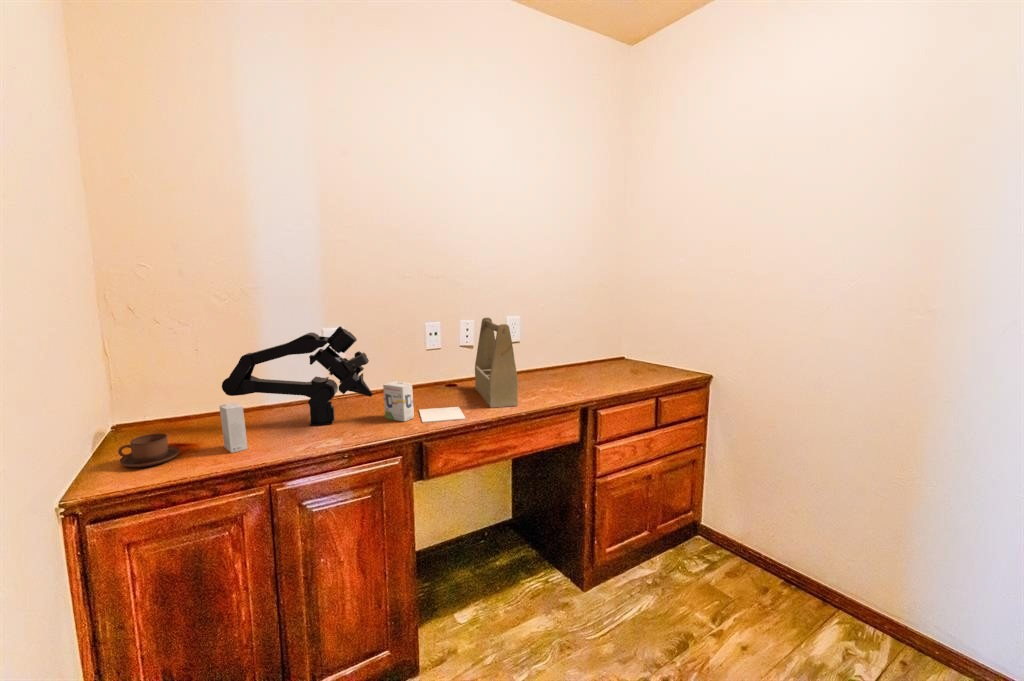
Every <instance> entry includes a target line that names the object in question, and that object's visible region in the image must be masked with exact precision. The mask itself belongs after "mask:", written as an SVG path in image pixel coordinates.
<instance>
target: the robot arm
mask: <svg viewBox="0 0 1024 681" xmlns="http://www.w3.org/2000/svg"><path fill="white" fill-rule="evenodd" d="M357 341H358V339H357V337H356V336H355V335H354V334H353V333H352V332H351V331H349V330H347V329H345V328H343V327H342V326H338V327H337V328H336V329H335V331H334V332H333V333H332V334H331V335H330V336H322V335H321V336H320V335H319V334H318V333H315V332H308V333H305V334H304V335H301V336H299V337H297V338H295V339H293V340H291V341H289V342H286V343H285V342H284V343H281V344H279V345H275V346H271V347H269V348H265V349H261V350H257V351H254V352H248V353H246V354H243V355H242V356H240V358H239V361H238V363H237V364H236V365H235V367H234V368H233V370H232V371H231V372H230V374H229V376H228V377H226V378H225V379H224V380H223V382H222V383H221V389H222V391H223V393H224V394H225V395H226V396H230V397H231V396H232V397H235V396H245V395H251V394H255V393H257V394H258V393H260V394H272V395H273V394H275V395H290V396H291V395H292V396H304V397H307V398H309V399H308V401H307V403H308V405H309V412H310V414H309V415H310V423H309V426H310V427H313V426H324V425H327V426H328V425H332V424H333V422H334V421H335V418H336V417H335V406H333V402H332V401H331V400H332V399H333V398H334V397H335V395H336V393H337V392H340V394H342V395H344V394H346V393H347V392H352V393H356V394H360V395H363V396H365V397H366V396H367V397H372V396H373V395H374V394H373V391H372V390H371V389H370V387H369V386H368V385H367V383H366V381H365V380H364V372H363V371H364V369H365V367H363V366H365V365H367V364H369V362H370V361H369V358H368V356H367V354H366V353H365V352H361V351H360V350H359V351H356V352H355V353H354V357H352V358H350V359H348V358H346V357H342V356H341V355H339V354H340V353H343V354H345V353H346V352H347V351H348V350H349V349H350V348H351V347H352V346H353V345H354V344H355V343H356V342H357ZM327 344H328V346H327ZM325 346H326V347H325ZM323 347H325V348H324V349H323ZM319 348H320V349H319ZM318 349H319V350H318ZM315 351H316V352H315ZM313 352H315V353H314V354H311V353H313ZM303 354H304V355H306V354H310V355H309V365H311V366H312V365H313V364H315V362H317V363H318V364H320V365H321V366H322V367H324V369H326V370H327V371H328V372H329V373H328V374H329V375H330V376H334V377H335V378H336V379H338V381H339V385H338V384H337V382H336V381H335V380H334V379H329V378H330V377H329V376H327V377H320V376H314V377H313V378H312V379H311V380H310V381H296V380H284V379H283V380H281V379H269V378H268V379H267V378H266V379H265V378H258V377H256V376H254V375H252V374H253V371H254V369H255V367H256V365H258V364H263V363H266V362H269V361H273V360H277V359H281V358H283V357H286V356H292V355H303ZM361 372H362V373H361ZM360 373H361V374H360ZM359 374H360V375H359Z"/></svg>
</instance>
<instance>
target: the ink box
mask: <svg viewBox="0 0 1024 681" xmlns="http://www.w3.org/2000/svg"><path fill="white" fill-rule="evenodd" d="M382 388H383V400H384V401H383V402H384V403H383V404H384V417H385V419H388V420H393V421H399V422H406V421H409V420H412V419H414V418H415V414H414V412H415V411H414V396H413V395H414V394H413V384H411V383H409V382H405V381H404V382H403V381H396V380H393V381H389V382H388V383H384V384H382Z"/></svg>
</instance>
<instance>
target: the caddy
mask: <svg viewBox="0 0 1024 681" xmlns="http://www.w3.org/2000/svg"><path fill="white" fill-rule="evenodd" d="M495 334H496V335H495ZM475 356H476V357H475V363H474V380H475V382H474V383H475V390H476V392H477V393H478V394H479V395H480V396H481V397H482V399H483V400H484V401H485V403H486V404H487V405H488V406H489V408H491V409H495V408H505V407H507V408H508V407H517V406H518V404H519V403H518V402H519V399H518V397H519V392H518V391H519V390H518V389H519V386H518V385H519V384H518V382H519V379H518V373H517V372H518V371H517V368H516V360H515V354H514V347H513V342H512V335H511V330H510V326H509V324H506V323H500V324H499V325H498V324H496V323H494V322H493V321H492V319H491V318H490V317H483V318H482V320H481V323H480V330H479V336H478V343H477V349H476V355H475Z"/></svg>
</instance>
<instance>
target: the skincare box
mask: <svg viewBox="0 0 1024 681" xmlns="http://www.w3.org/2000/svg"><path fill="white" fill-rule="evenodd" d="M219 414H220V423H221V428H222V429H221V430H222V437H223V438H222V439H223V445H224V449H226V450H227V451H229V453H231V454H232V453H237V452H238V453H239V452H242V451H245V450H246V451H247V450H248V440H247V439H248V438H247V430H246V424H245V423H246V422H245V415H244V414H245V413H244V406H243V405H240V404H238V402H233V403H226V404H222V405H220V406H219Z"/></svg>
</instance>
